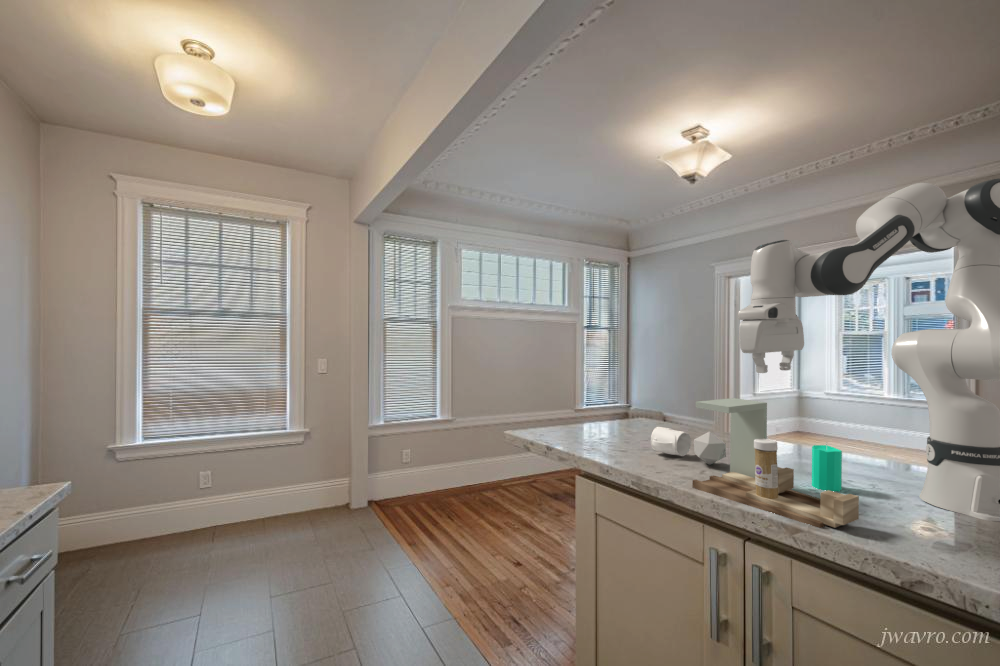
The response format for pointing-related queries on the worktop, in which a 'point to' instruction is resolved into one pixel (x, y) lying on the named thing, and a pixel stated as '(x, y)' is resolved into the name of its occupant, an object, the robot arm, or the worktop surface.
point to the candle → (826, 468)
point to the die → (709, 448)
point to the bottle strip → (831, 510)
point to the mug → (670, 441)
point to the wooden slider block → (783, 483)
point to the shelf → (741, 429)
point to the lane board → (738, 494)
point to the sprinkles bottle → (766, 468)
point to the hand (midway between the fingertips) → (773, 371)
